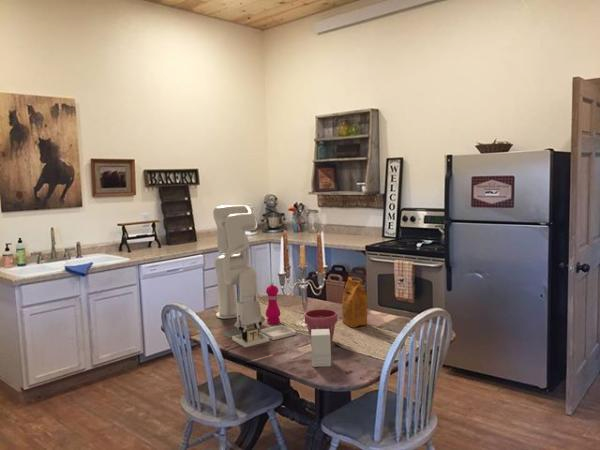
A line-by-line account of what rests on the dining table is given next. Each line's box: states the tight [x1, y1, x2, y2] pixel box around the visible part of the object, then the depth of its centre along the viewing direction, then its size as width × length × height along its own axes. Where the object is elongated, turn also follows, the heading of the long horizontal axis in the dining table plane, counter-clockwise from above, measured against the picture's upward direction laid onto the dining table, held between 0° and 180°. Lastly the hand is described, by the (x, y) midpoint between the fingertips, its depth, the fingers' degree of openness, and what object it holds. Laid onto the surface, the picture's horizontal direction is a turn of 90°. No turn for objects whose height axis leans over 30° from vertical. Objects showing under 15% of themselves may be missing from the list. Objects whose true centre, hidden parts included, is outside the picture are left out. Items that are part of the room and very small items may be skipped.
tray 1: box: [231, 332, 270, 348], centre depth 227 cm, size 12×12×2 cm
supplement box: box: [310, 329, 332, 368], centre depth 199 cm, size 7×7×13 cm
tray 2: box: [259, 324, 297, 341], centre depth 234 cm, size 12×12×2 cm
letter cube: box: [244, 326, 258, 343], centre depth 226 cm, size 5×5×5 cm
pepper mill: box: [265, 282, 281, 325], centre depth 252 cm, size 7×7×20 cm
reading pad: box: [219, 327, 242, 339], centre depth 238 cm, size 10×12×1 cm
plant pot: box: [304, 308, 338, 344], centre depth 223 cm, size 14×14×13 cm
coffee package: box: [341, 276, 368, 328], centre depth 245 cm, size 10×12×22 cm
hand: (250, 338), depth 227 cm, fingers closed on letter cube, 4 cm apart
